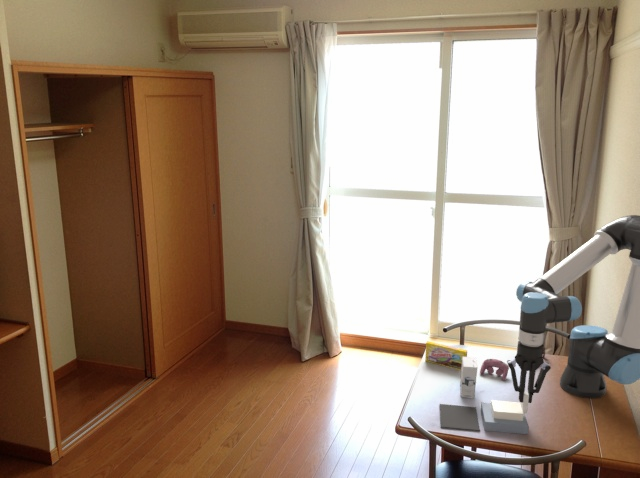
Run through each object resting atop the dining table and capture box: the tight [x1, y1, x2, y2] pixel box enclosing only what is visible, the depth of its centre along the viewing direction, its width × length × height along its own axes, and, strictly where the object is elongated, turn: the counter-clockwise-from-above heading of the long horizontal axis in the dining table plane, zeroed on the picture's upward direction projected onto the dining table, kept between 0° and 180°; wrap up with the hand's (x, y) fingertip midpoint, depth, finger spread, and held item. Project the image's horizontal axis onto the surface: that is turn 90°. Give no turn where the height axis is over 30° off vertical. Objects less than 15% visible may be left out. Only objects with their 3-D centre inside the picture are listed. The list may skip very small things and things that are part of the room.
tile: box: [490, 399, 524, 421], centre depth 184 cm, size 9×7×2 cm
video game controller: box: [479, 358, 510, 381], centre depth 216 cm, size 10×5×7 cm, turn 58°
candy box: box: [424, 340, 468, 371], centre depth 223 cm, size 16×2×8 cm, turn 58°
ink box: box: [459, 356, 478, 399], centre depth 203 cm, size 9×5×12 cm, turn 168°
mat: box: [439, 403, 481, 433], centre depth 187 cm, size 12×14×1 cm
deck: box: [480, 401, 529, 435], centre depth 185 cm, size 13×12×3 cm
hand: (524, 411), depth 183 cm, fingers closed
